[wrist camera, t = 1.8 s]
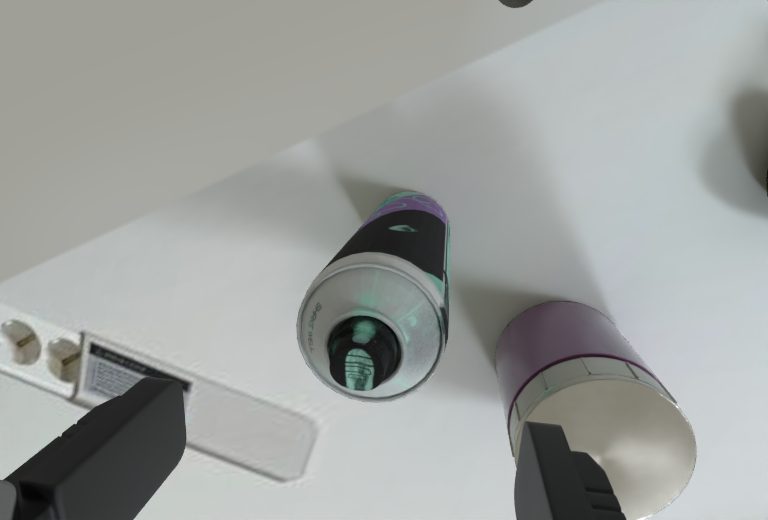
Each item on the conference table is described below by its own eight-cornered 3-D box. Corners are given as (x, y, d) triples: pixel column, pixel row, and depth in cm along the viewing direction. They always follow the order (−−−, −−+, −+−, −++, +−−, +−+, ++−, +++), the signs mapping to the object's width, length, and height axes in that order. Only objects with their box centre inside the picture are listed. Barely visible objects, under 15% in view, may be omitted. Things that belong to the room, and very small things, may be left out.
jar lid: (519, 348, 26) (525, 370, 24) (691, 365, 25) (715, 389, 23) (501, 482, 28) (505, 514, 26) (657, 503, 27) (676, 537, 25)
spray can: (428, 177, 32) (396, 253, 13) (462, 248, 33) (478, 414, 14) (358, 212, 34) (236, 326, 14) (393, 279, 35) (321, 469, 16)
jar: (502, 295, 34) (522, 362, 24) (636, 306, 33) (711, 381, 23) (489, 406, 36) (502, 506, 27) (612, 420, 35) (672, 530, 26)
